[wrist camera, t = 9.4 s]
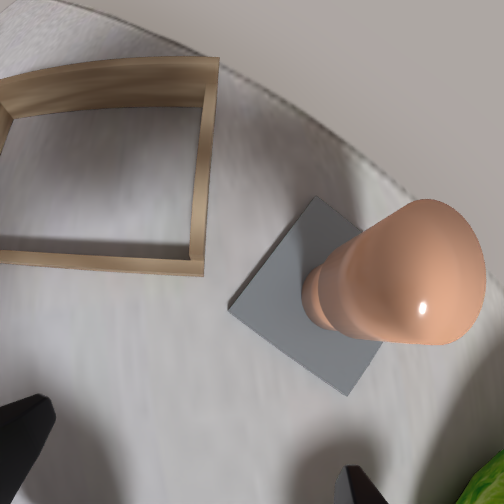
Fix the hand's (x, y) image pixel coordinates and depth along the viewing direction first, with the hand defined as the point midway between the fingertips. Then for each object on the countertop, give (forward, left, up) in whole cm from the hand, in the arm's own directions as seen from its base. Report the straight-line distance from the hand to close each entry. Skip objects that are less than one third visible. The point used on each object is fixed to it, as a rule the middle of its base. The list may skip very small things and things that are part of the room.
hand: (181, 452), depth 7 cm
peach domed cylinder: (+10, -3, -11) cm, 16 cm away
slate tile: (+10, -3, -12) cm, 16 cm away
